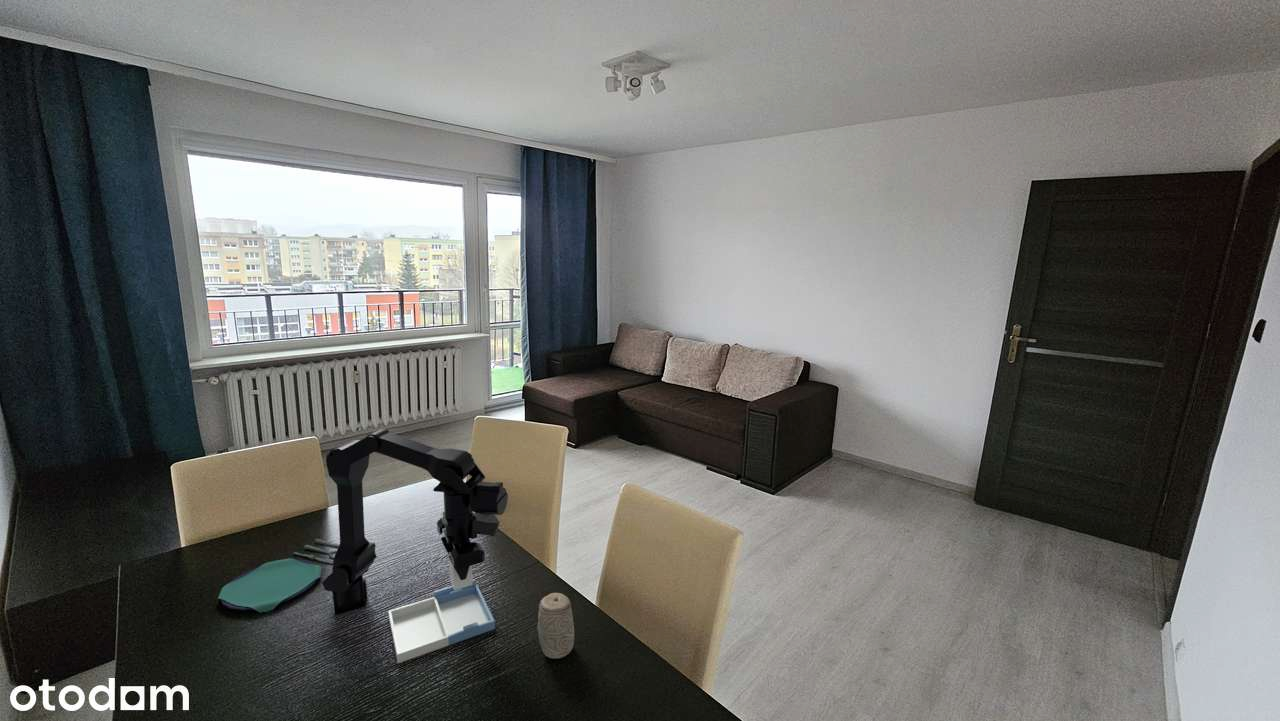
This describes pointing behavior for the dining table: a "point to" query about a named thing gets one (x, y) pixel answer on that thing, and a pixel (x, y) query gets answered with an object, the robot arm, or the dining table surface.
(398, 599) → the dining table surface
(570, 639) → the carving
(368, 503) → the dining table surface
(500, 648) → the dining table surface
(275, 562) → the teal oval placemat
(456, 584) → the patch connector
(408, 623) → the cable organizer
